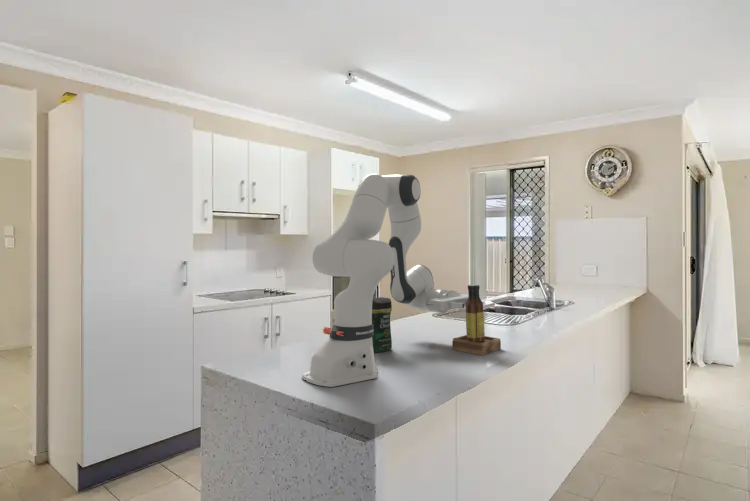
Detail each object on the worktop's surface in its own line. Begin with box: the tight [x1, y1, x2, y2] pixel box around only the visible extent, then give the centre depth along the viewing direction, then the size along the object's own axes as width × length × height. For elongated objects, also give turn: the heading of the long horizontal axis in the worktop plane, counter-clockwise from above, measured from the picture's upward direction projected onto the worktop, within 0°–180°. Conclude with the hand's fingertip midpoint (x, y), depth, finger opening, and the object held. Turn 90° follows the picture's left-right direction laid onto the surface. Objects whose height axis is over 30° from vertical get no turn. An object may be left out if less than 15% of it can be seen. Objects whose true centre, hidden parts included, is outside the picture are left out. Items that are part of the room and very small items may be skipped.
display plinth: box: [452, 334, 502, 356], centre depth 162 cm, size 12×12×4 cm
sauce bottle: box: [465, 284, 486, 342], centre depth 162 cm, size 6×6×20 cm
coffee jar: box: [372, 296, 393, 353], centre depth 162 cm, size 10×8×19 cm
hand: (470, 304), depth 164 cm, fingers open, 8 cm apart
